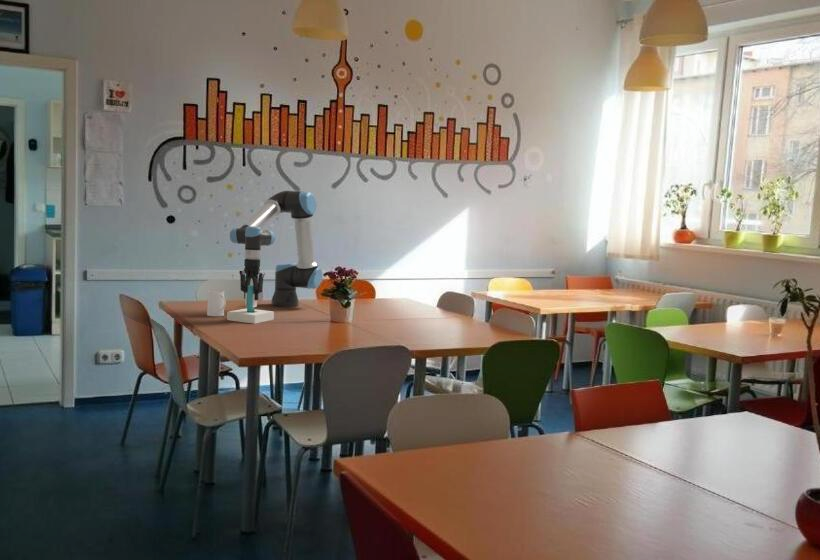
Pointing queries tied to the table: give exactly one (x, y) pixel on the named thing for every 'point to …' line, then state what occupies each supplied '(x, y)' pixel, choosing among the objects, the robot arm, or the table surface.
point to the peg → (250, 299)
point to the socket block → (250, 316)
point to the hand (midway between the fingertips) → (250, 306)
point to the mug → (216, 303)
